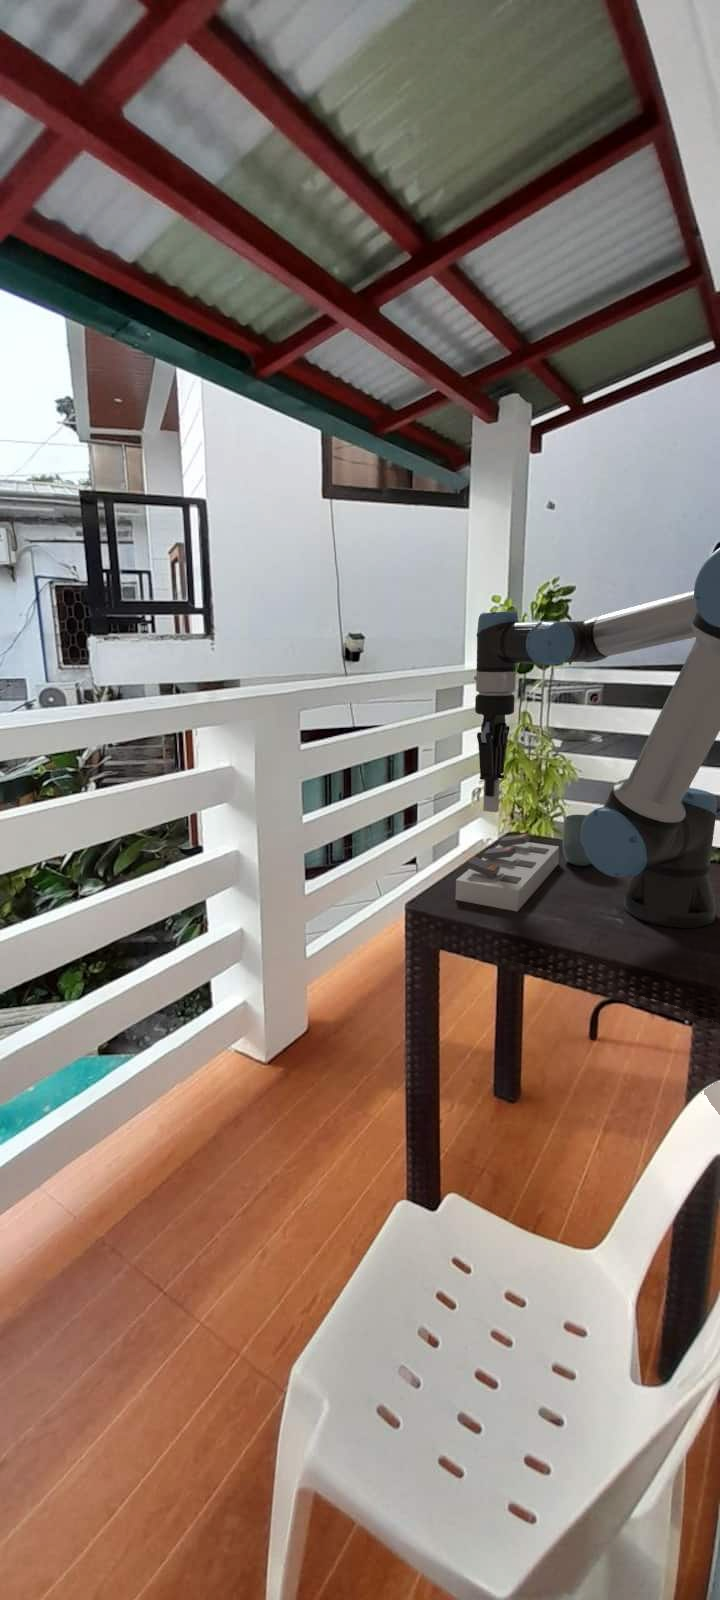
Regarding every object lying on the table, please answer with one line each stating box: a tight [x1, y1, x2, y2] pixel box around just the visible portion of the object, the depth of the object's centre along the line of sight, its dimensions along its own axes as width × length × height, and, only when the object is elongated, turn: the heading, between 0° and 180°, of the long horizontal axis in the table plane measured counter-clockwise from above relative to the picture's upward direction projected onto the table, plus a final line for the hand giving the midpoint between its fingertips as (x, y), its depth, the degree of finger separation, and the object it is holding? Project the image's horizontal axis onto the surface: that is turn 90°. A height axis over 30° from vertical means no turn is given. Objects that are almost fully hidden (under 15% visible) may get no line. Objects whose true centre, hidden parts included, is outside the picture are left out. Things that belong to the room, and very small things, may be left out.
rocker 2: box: [483, 846, 516, 859], centre depth 143 cm, size 6×4×1 cm, turn 60°
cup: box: [562, 814, 593, 867], centre depth 152 cm, size 8×8×10 cm
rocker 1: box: [465, 855, 500, 878], centre depth 134 cm, size 6×4×1 cm, turn 61°
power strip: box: [455, 841, 560, 912], centre depth 146 cm, size 12×39×4 cm, turn 151°
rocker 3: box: [498, 833, 531, 846], centre depth 151 cm, size 6×4×1 cm, turn 60°
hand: (490, 810), depth 142 cm, fingers closed
